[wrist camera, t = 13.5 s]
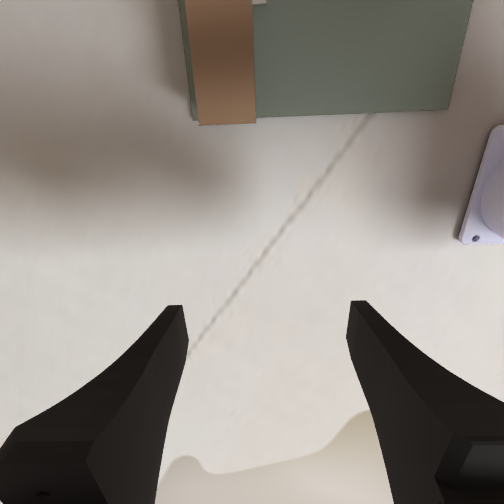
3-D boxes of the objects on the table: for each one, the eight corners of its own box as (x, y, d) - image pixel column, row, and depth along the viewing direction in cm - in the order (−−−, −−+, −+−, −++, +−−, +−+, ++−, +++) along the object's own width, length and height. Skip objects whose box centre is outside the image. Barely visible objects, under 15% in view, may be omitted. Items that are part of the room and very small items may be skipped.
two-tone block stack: (267, 110, 19) (271, 122, 15) (200, 113, 19) (183, 126, 15) (264, -106, 14) (267, -181, 10) (177, -100, 15) (143, -172, 10)
